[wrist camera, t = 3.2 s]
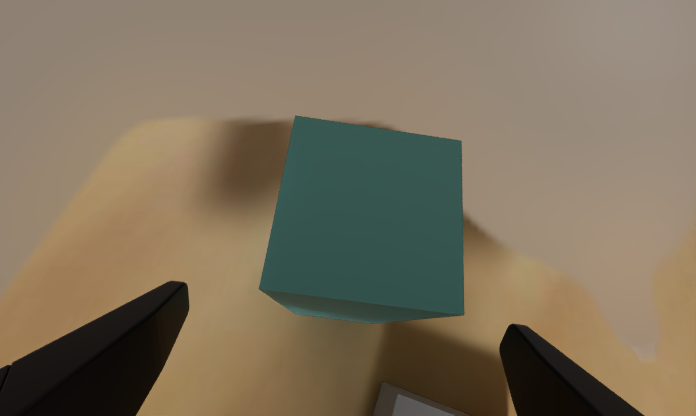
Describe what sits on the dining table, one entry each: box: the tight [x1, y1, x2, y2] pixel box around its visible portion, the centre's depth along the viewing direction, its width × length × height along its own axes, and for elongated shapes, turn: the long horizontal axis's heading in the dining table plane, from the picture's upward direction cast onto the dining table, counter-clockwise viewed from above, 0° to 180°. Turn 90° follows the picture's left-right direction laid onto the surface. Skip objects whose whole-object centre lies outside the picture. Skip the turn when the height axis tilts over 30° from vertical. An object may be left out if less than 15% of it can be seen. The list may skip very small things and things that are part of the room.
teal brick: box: [259, 116, 464, 324], centre depth 13 cm, size 4×4×12 cm
